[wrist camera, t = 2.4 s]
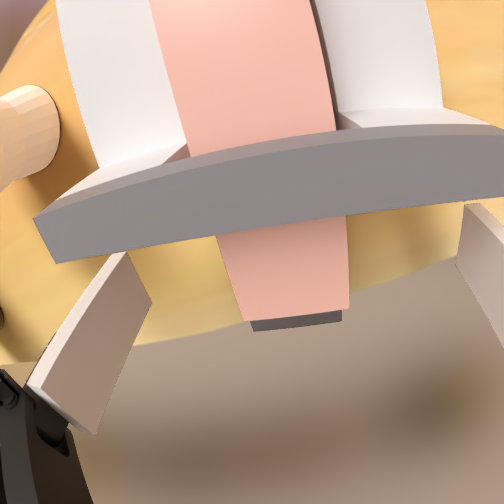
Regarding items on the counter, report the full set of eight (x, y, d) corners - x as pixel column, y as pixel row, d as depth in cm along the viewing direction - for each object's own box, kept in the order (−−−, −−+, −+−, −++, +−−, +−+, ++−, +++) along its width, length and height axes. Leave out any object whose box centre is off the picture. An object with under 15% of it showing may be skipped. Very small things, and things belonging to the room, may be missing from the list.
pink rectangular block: (254, 239, 16) (243, 321, 11) (188, -18, 9) (134, -63, 4) (328, 229, 16) (349, 308, 11) (275, -38, 8) (273, -101, 3)
